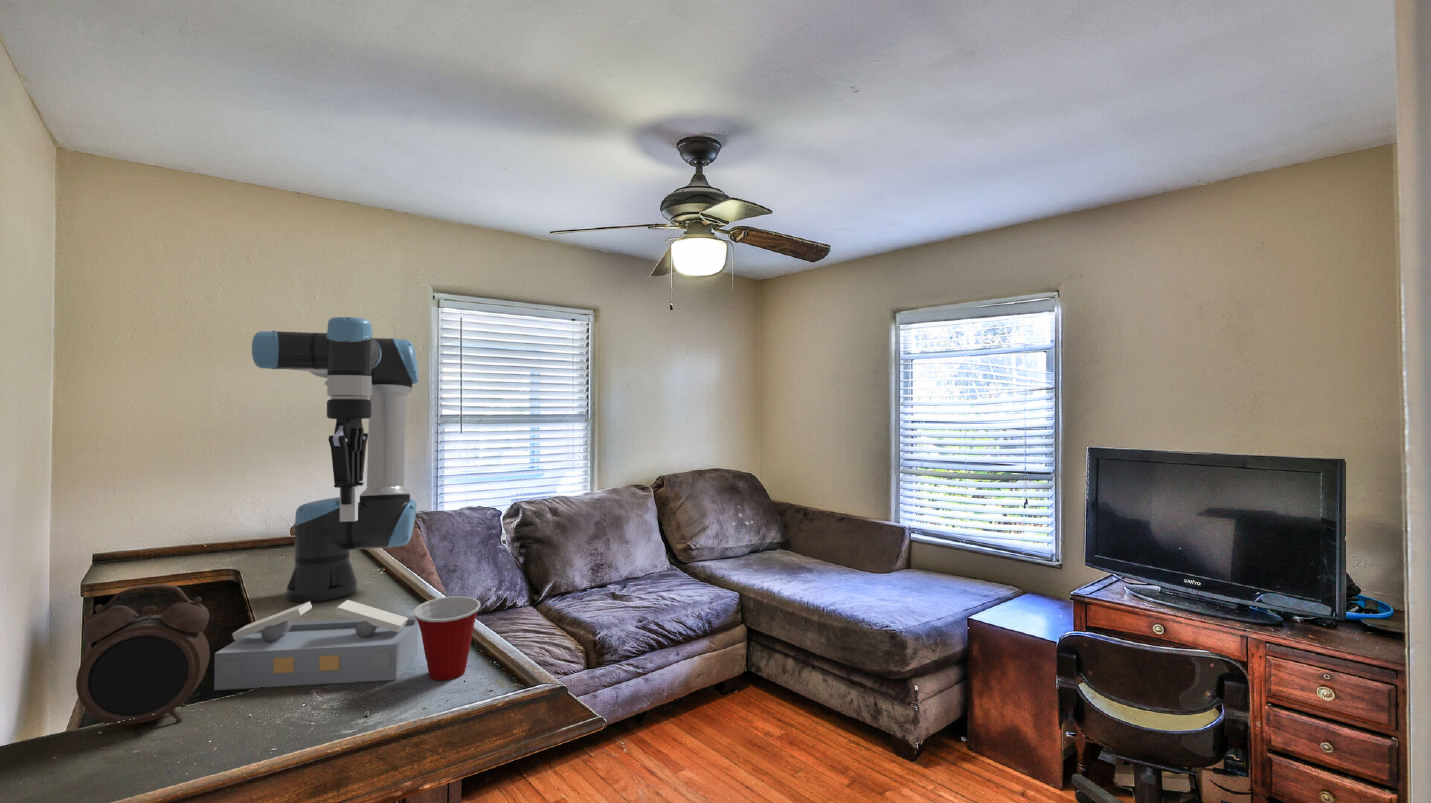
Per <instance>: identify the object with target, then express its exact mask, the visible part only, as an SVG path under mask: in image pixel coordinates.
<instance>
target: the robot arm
mask: <svg viewBox="0 0 1431 803" xmlns="http://www.w3.org/2000/svg"><path fill="white" fill-rule="evenodd" d="M326 329H327V330H326V332H303V331H300V332H299V331H277V330H271V331H270V330H269V331H268V330H267V331H266V330H265V331H263V330H262V331H258V332H256V333H255V334H254V336H253V337H252V338H253V339H252V342H251V355H252V356H251V357H252V360H253V363H254V365H255V366H256V367H258V368H259V369H270V370H291V371H292V370H293V371H303V372H309V373H310V374H312V375H314V376H316V377H318V378H319V377H320V378H324V379H327V380H325V382H324V385H325V386H327V387H326V388H327V390H326V391H327V392H326V394H327V396H328V397H330V399H327V401H326V418H328V419H332V420H336V421H335V426H334V432H333V433H334V434H333V435H329V436H328V443H329V446H330V453H331V463H332V472H333V473H332V474H333V483H334V484H333V487H334V489H335V488H336V489H337V488H338V489H339V497H338V496H337V497H330V498H325V499H319V500H315V501H310V502H306V503H304V504H302V505H299V506H298V507H297V509H296V510H295V517H294V518H295V519H294V524H293V526H294V567H293V569H292V572H291V575H290V579H289V581H288V584H287V587H286V589H285V590H286V591H285V599H286V600H287V601H289V602H292V603H293V602H294V603H307V602H309V601H310V603H316V602H324V601H325V602H326V601H329V600H330V601H331V600H336V599H341V598H343V597H347V596H350V595H352V594H354V593H356V592H357V591H358V580H357V577H356V574H355V571H354V569H353V566H352V564H351V559H350V550H351V551H353V550H369V549H371V550H372V549H385V548H387V549H390V548H395V547H404V546H406V545H407V544H408V543H409V542H410V541H411V539H412V535H413V532H414V526H415V520H416V516H417V501H416V500H414V499H411V493H410V491H408V490H407V489H406V488H405V455H406V453H405V452H406V449H405V447H406V444H405V443H406V442H405V441H406V410H407V409H406V403H407V401H406V399H407V396H408V395H409V394H410V393H411V392H412V391H413V384H417V383H419V382H420V378H419V377H420V376H419V366H418V361H417V356H416V355H417V354H416V350H415V345H414V343H412V341H410V340H408V339H401V338H400V339H399V338H394V337H393V338H384V337H383V338H381V337H379V338H377V337H374V338H373V331H372V329H373V328H372V322H371V321H369V320H368V319H365V318H362V317H351V316H350V317H349V316H337V317H332V318H330V319H328V322H327V328H326ZM363 419H364V420H365V419H366V420H367V419H368V426H367V428H368V431H367V432H365V430H364V427H363V425H364V424H363V421H362V420H363ZM366 449H367V450H366ZM366 451H367V462H366ZM365 462H366V465H367V467H366V468H367V470H366V488H365V490H364V491H362V492H361V493H360V494H359V487H360V486H362V487H363V486H364V482H363V481H364V471H365V470H364V469H365Z"/></svg>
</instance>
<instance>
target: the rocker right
mask: <svg viewBox="0 0 1431 803" xmlns="http://www.w3.org/2000/svg"><path fill="white" fill-rule="evenodd" d="M334 615H338V616H341V617H344V618H346V619H354V620H357V621H361V622H360V623H358V624H357V626H356V629H355V630H356V633H357V635H358V636H360V637H367V636H369V635H370V634H371V633H372V632H374V631H375V630H376V629H377V628H378V627H381V628H384V629H388V630H391V631H394V632H399V631H400V630H401V629H402V628H403V627H404V626H405V625H406V622H407V620H408V618H407V617H408V616H403V615H399V614H396V613H392V612H389V611H387V610H383V609H380V608H376V607H373V606H370V605H366V604H363V603H361V602H360V603H359V602H356V601H352V600H349V599H346V600H345V601H344V602H342V603H340V604H339V605H338V606H336V609H335V611H334Z"/></svg>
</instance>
